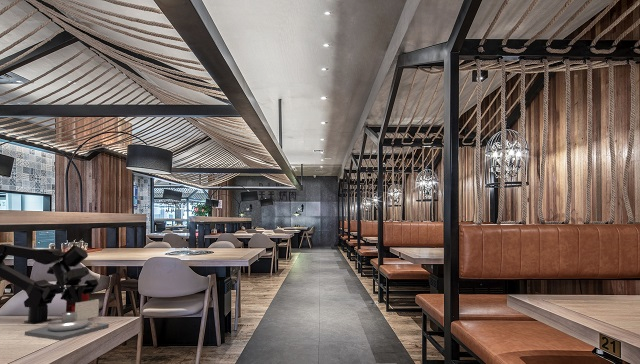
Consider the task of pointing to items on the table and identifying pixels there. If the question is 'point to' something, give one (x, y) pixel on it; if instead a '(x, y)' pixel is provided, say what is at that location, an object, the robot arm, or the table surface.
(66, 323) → the dial
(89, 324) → the panel
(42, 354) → the table surface
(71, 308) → the canned food
